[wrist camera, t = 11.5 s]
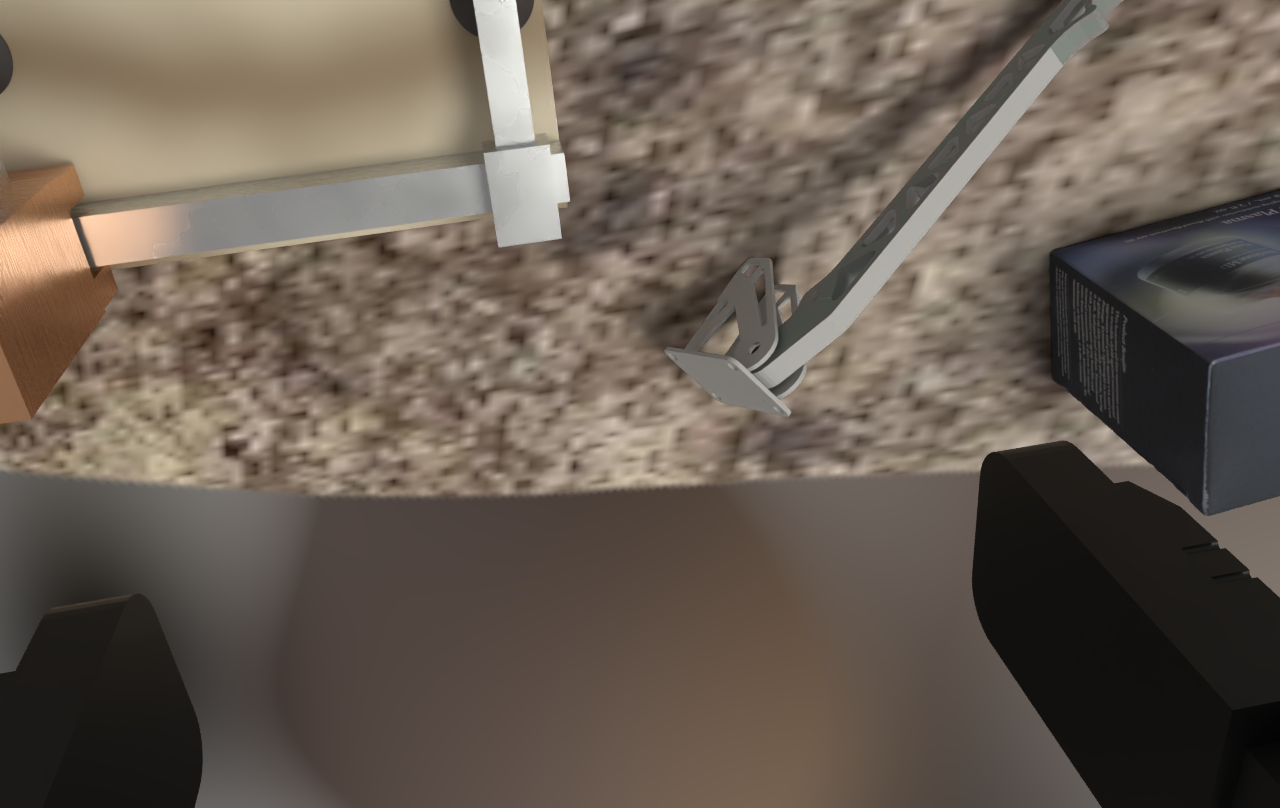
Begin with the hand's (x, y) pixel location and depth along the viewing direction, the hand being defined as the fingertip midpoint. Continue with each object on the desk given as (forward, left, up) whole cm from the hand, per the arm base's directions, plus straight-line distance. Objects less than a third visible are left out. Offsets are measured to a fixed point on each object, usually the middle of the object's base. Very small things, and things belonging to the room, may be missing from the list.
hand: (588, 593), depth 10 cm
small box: (+12, +26, -28) cm, 40 cm away
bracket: (+5, +15, -28) cm, 32 cm away
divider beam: (+1, -8, -27) cm, 28 cm away
